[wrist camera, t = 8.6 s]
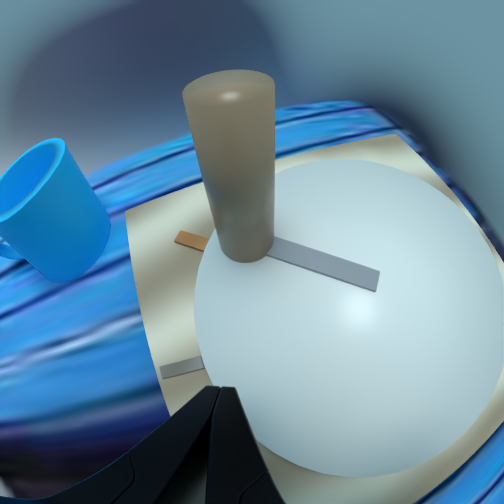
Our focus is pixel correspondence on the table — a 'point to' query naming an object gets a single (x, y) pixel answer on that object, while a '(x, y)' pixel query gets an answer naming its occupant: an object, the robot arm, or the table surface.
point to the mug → (51, 213)
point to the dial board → (187, 349)
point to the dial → (337, 295)
